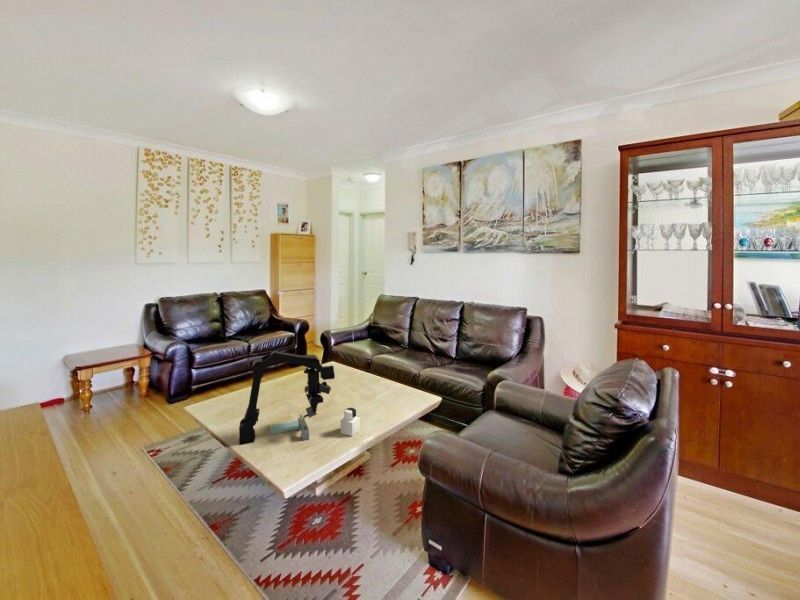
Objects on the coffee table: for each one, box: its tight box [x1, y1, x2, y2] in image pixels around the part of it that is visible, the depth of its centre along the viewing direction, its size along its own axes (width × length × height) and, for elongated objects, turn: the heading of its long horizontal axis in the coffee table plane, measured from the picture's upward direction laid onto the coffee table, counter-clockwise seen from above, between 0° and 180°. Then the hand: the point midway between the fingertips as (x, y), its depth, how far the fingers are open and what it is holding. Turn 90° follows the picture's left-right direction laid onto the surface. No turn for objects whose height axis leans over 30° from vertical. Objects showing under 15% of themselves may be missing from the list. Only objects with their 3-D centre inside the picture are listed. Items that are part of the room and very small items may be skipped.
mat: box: [268, 420, 299, 435], centre depth 189 cm, size 14×9×1 cm, turn 114°
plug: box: [298, 406, 318, 421], centre depth 184 cm, size 9×4×4 cm, turn 112°
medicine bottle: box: [340, 407, 361, 437], centre depth 184 cm, size 7×7×12 cm
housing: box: [297, 416, 310, 441], centre depth 182 cm, size 3×15×5 cm, turn 24°
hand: (313, 410), depth 185 cm, fingers closed on plug, 4 cm apart
